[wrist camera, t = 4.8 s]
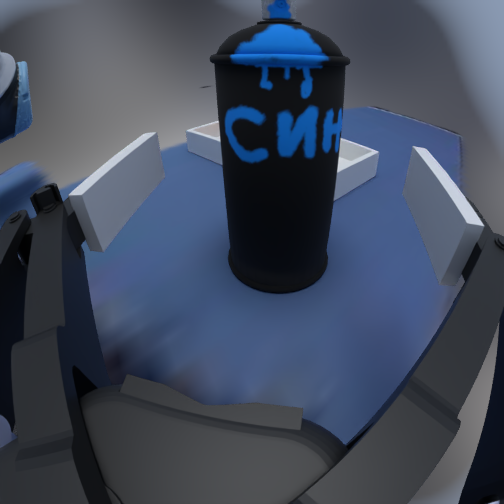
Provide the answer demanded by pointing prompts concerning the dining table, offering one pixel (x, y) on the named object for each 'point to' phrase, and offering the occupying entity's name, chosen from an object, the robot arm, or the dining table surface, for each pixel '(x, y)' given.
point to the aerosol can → (279, 146)
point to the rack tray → (349, 164)
